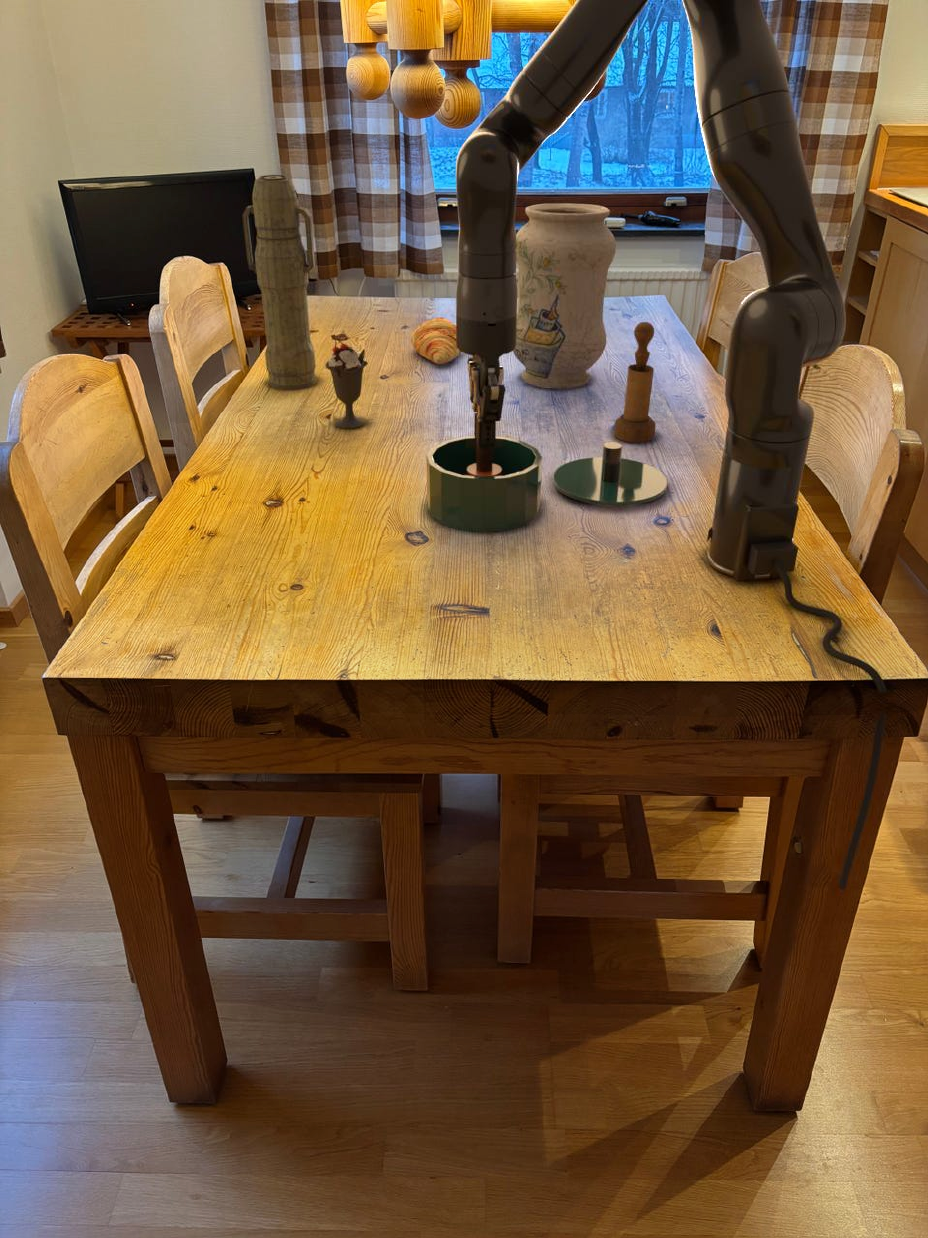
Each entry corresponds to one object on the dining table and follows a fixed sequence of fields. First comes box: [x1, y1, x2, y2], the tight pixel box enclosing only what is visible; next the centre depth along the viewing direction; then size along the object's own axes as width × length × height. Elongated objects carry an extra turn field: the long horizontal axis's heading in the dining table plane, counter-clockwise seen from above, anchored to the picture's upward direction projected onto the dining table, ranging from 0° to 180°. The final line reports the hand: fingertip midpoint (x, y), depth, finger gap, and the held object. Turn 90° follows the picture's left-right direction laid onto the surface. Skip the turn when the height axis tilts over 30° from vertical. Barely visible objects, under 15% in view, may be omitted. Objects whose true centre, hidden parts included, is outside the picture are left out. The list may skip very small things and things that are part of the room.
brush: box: [466, 395, 502, 477], centre depth 128 cm, size 5×5×14 cm
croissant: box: [410, 317, 462, 365], centre depth 194 cm, size 21×10×8 cm, turn 7°
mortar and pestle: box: [613, 321, 657, 444], centre depth 151 cm, size 7×6×18 cm
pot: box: [425, 435, 543, 533], centre depth 130 cm, size 15×15×8 cm
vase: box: [512, 203, 617, 390], centre depth 173 cm, size 18×18×30 cm
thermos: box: [241, 174, 317, 390], centre depth 170 cm, size 9×12×35 cm
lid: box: [552, 441, 668, 507], centre depth 137 cm, size 16×16×6 cm
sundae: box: [325, 334, 369, 430], centre depth 157 cm, size 7×7×15 cm
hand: (484, 443), depth 128 cm, fingers closed on brush
